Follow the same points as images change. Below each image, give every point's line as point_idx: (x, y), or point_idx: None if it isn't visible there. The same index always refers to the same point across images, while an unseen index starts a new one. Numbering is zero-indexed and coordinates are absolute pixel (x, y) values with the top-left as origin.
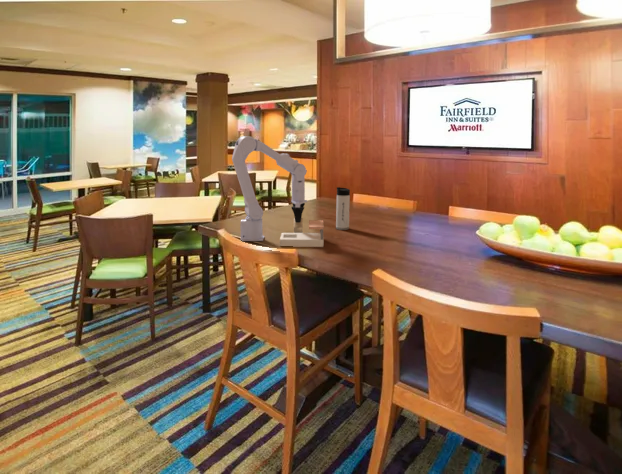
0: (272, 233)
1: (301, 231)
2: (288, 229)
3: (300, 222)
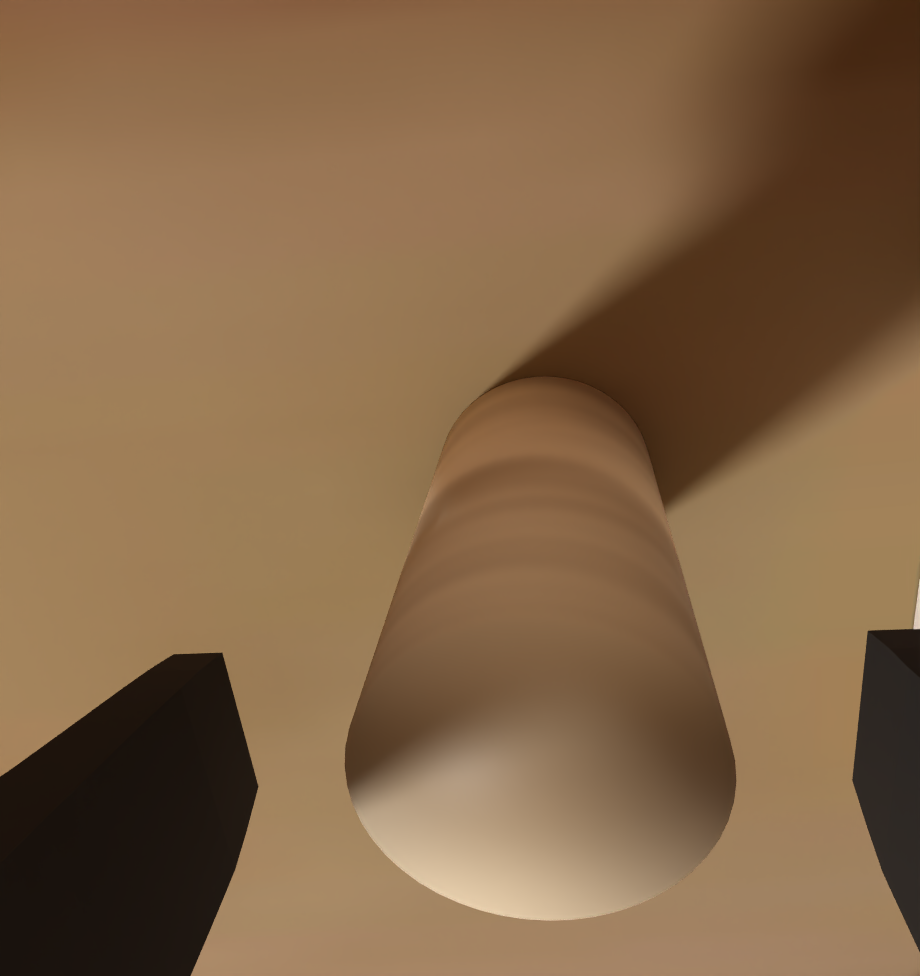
0: (419, 920)
1: (619, 441)
2: (28, 707)
3: (683, 610)
